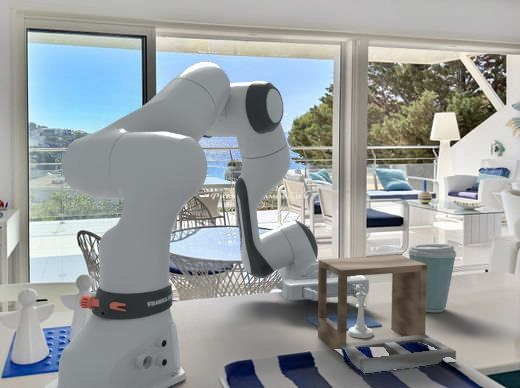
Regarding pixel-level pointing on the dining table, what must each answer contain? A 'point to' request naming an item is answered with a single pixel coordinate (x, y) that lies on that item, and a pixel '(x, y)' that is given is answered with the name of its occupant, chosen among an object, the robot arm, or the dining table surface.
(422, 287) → the tunnel
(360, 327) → the chess piece
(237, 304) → the dining table surface
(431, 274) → the disposable coffee cup
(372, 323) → the mat
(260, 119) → the robot arm
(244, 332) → the dining table surface
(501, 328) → the dining table surface
